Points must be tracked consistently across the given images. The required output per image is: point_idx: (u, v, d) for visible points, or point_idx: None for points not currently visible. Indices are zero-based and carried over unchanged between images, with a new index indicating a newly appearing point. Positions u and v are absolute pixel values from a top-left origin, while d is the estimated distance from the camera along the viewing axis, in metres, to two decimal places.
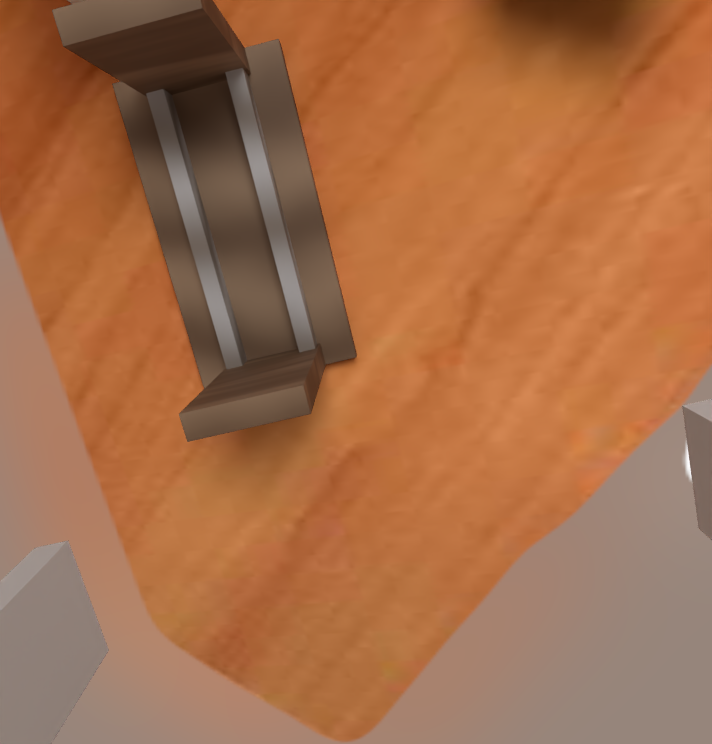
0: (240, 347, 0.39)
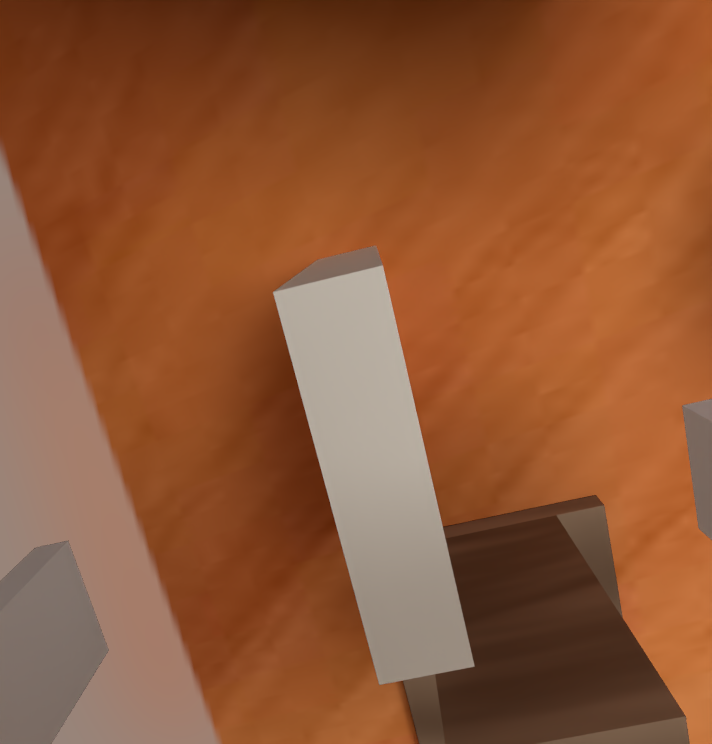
0: None
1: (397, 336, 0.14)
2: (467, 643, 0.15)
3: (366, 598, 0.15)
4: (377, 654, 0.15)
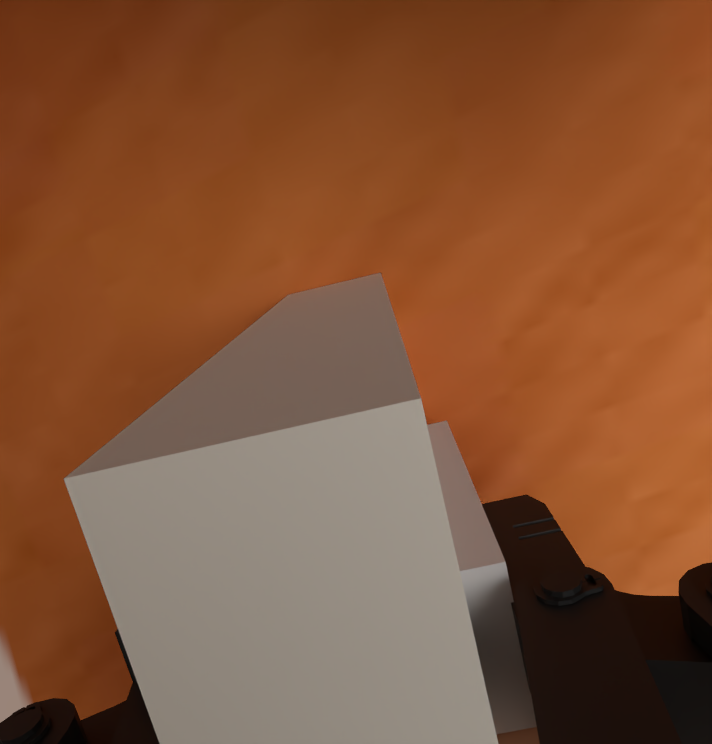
0: None
1: (463, 611, 0.04)
2: None
3: None
4: None
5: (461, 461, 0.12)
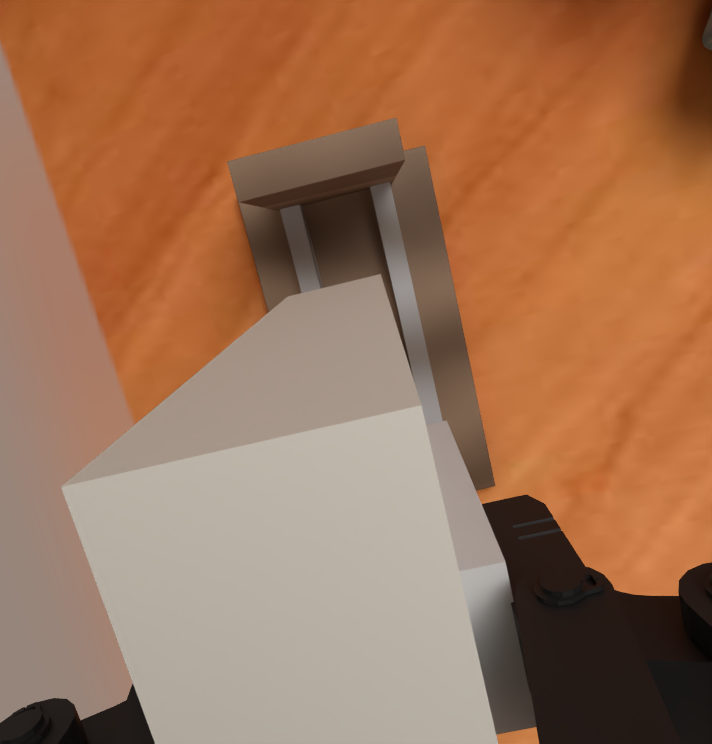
0: None
1: (464, 619, 0.04)
2: None
3: None
4: None
5: (461, 461, 0.12)
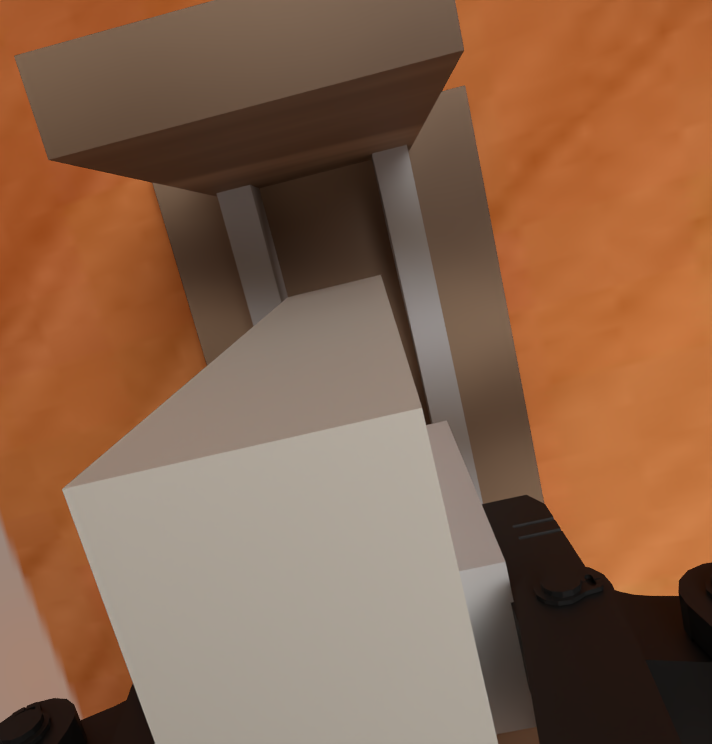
0: None
1: (465, 621, 0.04)
2: None
3: None
4: None
5: (461, 461, 0.12)
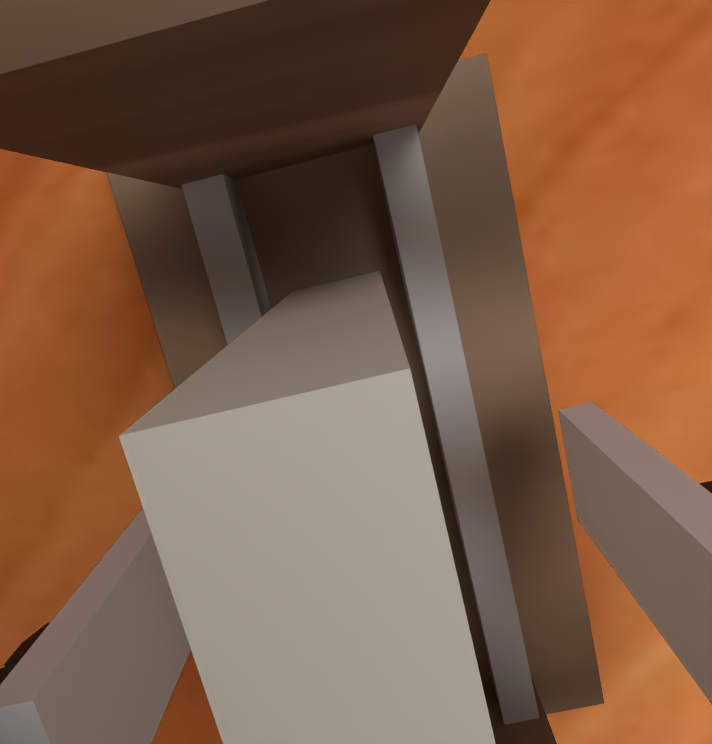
0: None
1: (446, 545, 0.05)
2: None
3: None
4: None
5: (642, 442, 0.11)
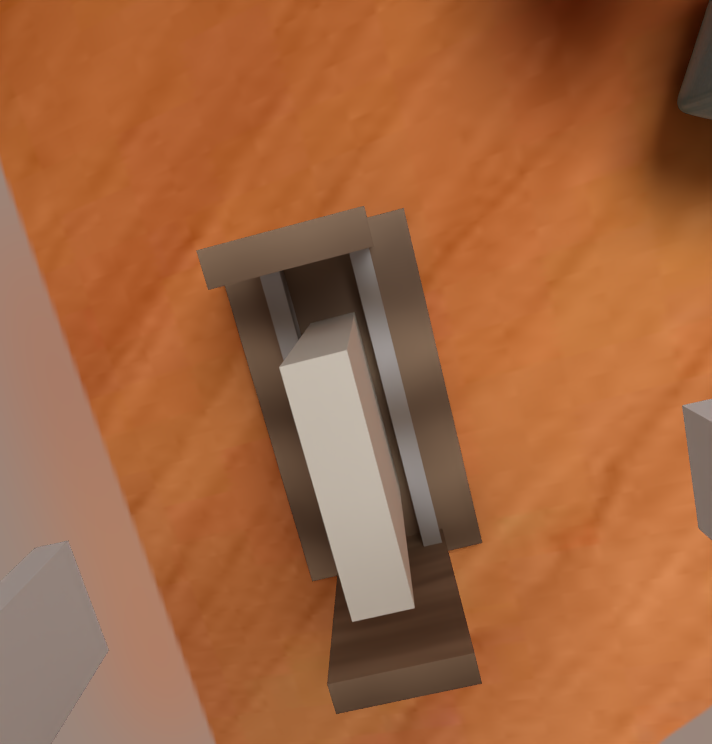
0: None
1: (357, 393, 0.22)
2: (409, 592, 0.23)
3: (342, 562, 0.23)
4: (350, 600, 0.23)
5: None
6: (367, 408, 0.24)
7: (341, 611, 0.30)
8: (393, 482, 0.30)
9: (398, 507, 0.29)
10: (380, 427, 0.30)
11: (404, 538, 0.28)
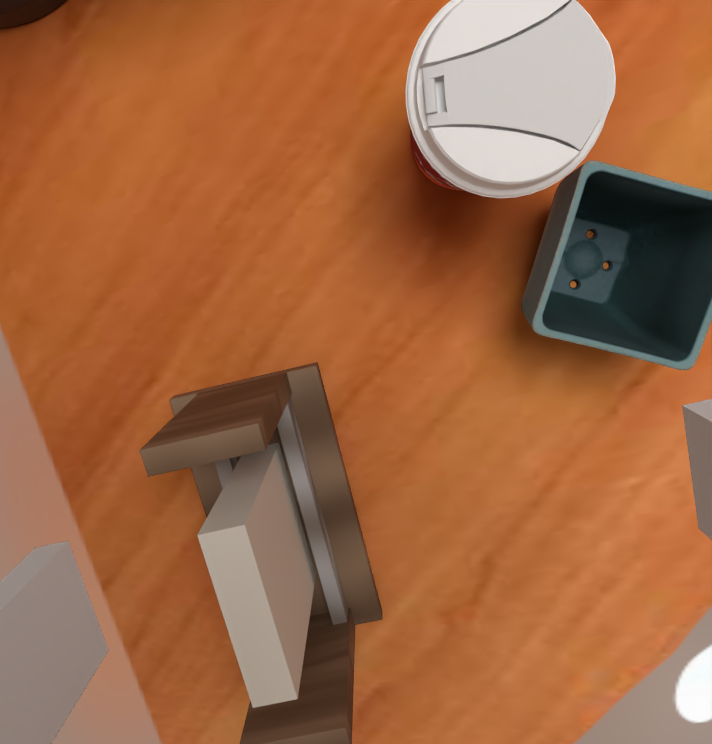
0: None
1: (252, 553, 0.31)
2: (293, 688, 0.32)
3: (244, 667, 0.32)
4: (251, 693, 0.32)
5: None
6: (268, 550, 0.33)
7: None
8: (301, 585, 0.39)
9: (302, 607, 0.38)
10: (292, 541, 0.39)
11: (303, 634, 0.37)
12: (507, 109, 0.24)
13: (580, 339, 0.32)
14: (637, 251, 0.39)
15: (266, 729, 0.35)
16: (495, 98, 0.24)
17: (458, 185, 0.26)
